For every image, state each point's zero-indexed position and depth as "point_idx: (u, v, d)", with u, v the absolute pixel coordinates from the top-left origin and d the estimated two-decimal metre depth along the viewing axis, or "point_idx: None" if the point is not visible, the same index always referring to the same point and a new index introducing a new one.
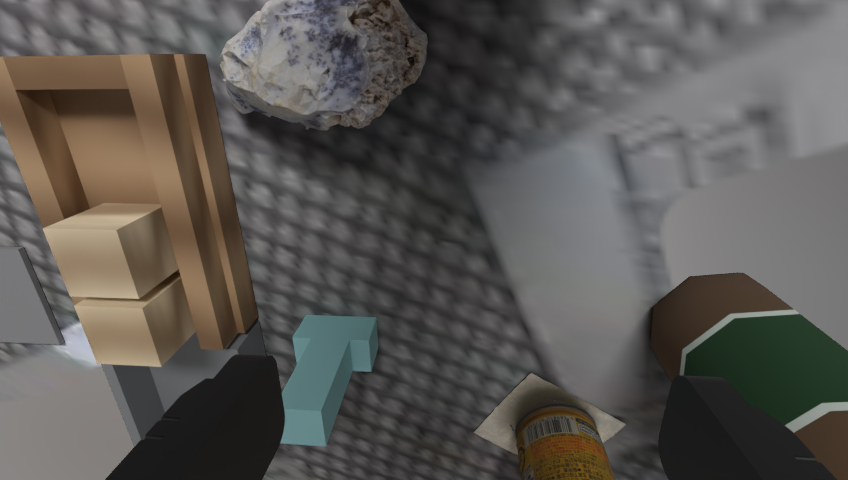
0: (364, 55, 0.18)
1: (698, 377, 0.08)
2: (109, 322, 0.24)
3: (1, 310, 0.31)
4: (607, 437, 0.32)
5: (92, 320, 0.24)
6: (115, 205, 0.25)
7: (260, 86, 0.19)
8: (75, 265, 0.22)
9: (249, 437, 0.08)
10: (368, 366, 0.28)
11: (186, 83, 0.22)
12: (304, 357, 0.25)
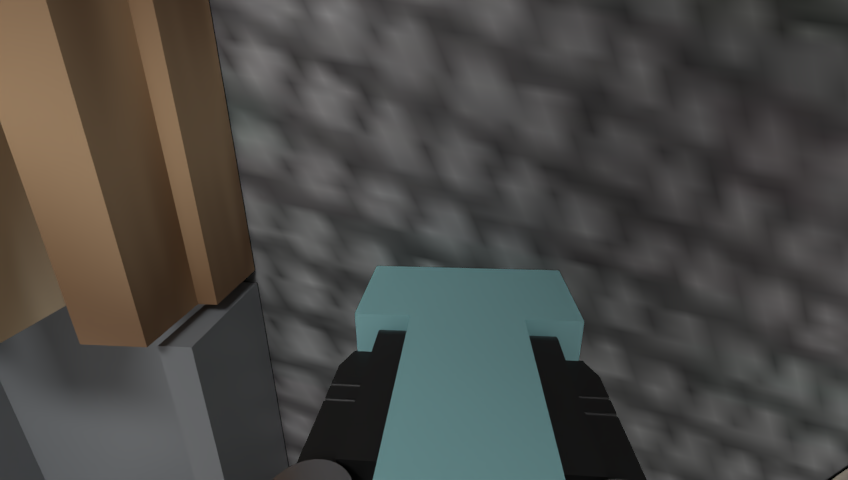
0: None
1: (535, 336, 0.09)
2: None
3: None
4: None
5: None
6: None
7: None
8: None
9: None
10: None
11: None
12: (409, 372, 0.08)
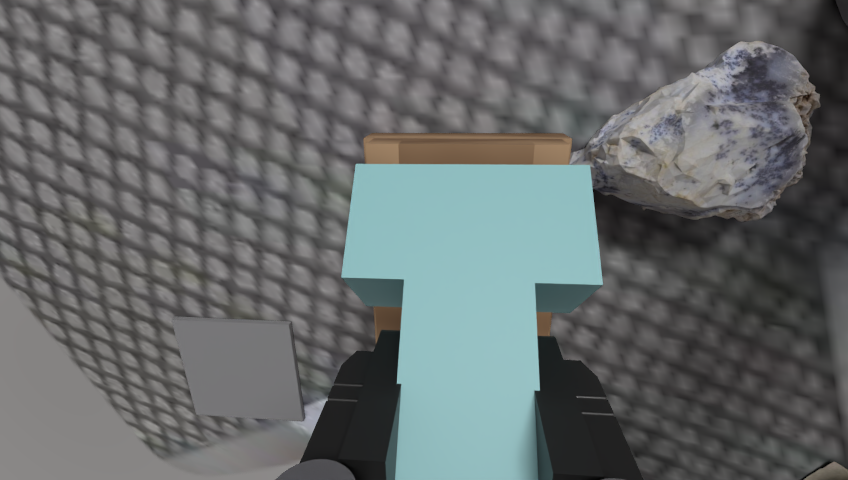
0: (801, 154, 0.17)
1: None
2: None
3: (248, 385, 0.29)
4: None
5: None
6: None
7: (669, 177, 0.18)
8: None
9: None
10: (566, 307, 0.10)
11: None
12: (408, 384, 0.07)
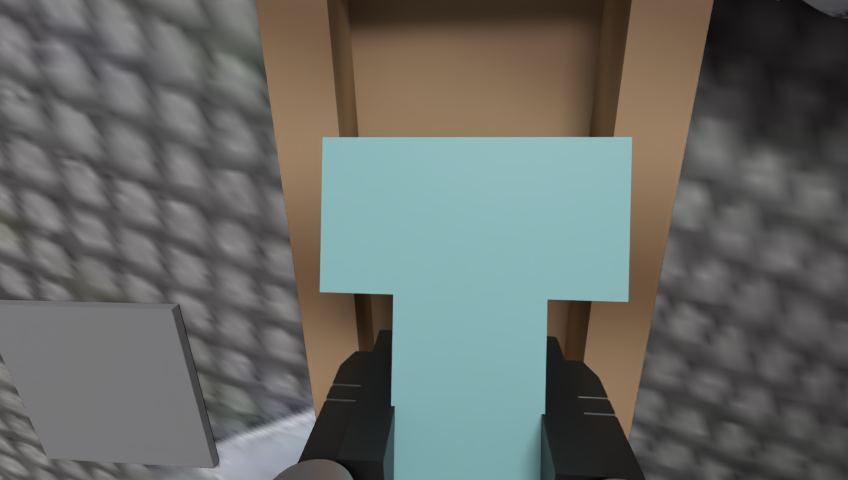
0: None
1: None
2: None
3: (120, 412, 0.18)
4: None
5: None
6: None
7: None
8: None
9: None
10: None
11: None
12: (404, 411, 0.07)
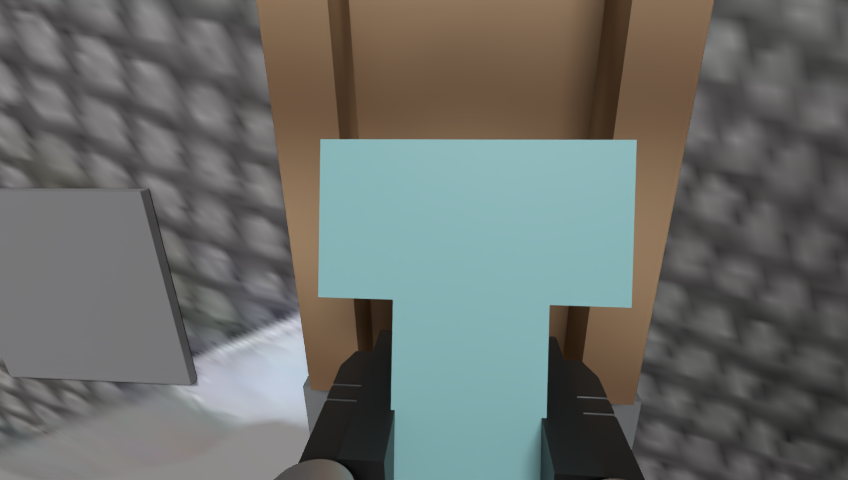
0: None
1: None
2: None
3: (87, 319, 0.16)
4: None
5: None
6: None
7: None
8: None
9: None
10: None
11: None
12: (403, 417, 0.07)
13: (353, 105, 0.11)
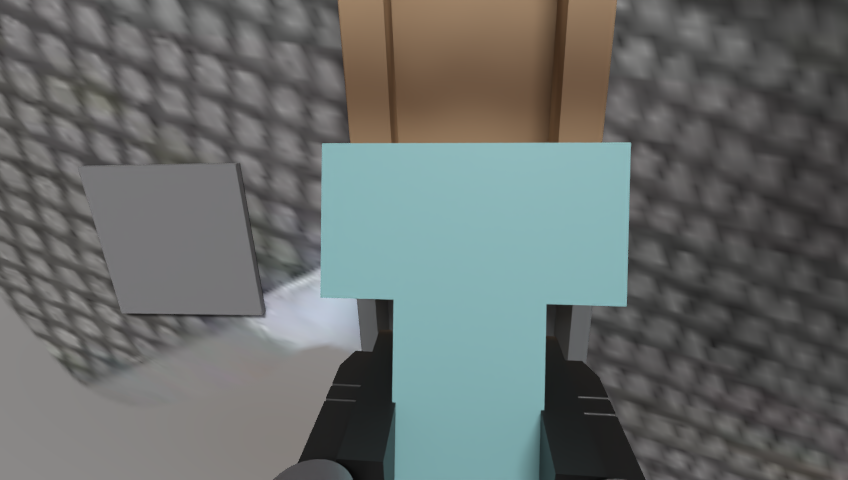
0: None
1: None
2: None
3: (187, 264, 0.22)
4: None
5: None
6: None
7: None
8: None
9: None
10: None
11: None
12: (404, 415, 0.07)
13: (394, 97, 0.16)
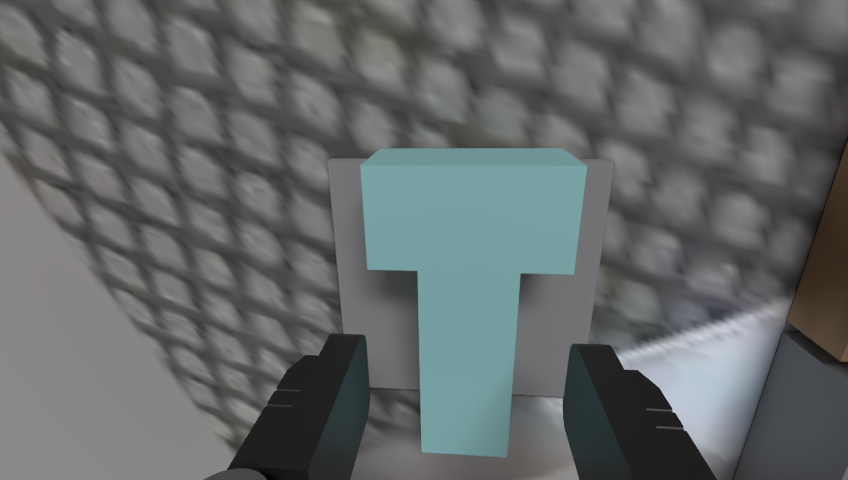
0: None
1: (588, 344, 0.09)
2: None
3: None
4: None
5: None
6: None
7: None
8: None
9: (353, 408, 0.08)
10: None
11: None
12: (427, 338, 0.11)
13: None
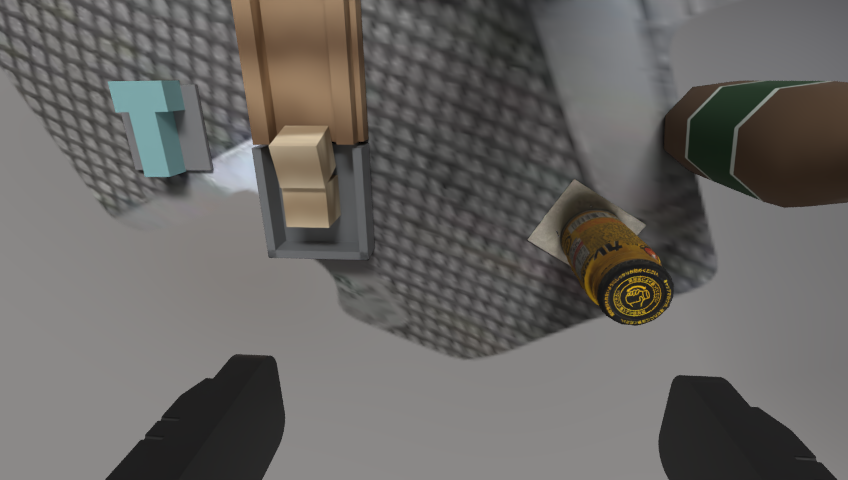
0: None
1: (698, 377, 0.08)
2: (301, 195, 0.38)
3: None
4: None
5: (290, 194, 0.38)
6: (294, 127, 0.37)
7: None
8: (286, 168, 0.36)
9: (249, 437, 0.08)
10: (180, 109, 0.40)
11: None
12: (136, 134, 0.39)
13: (264, 49, 0.36)
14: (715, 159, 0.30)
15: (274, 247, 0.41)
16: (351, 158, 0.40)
